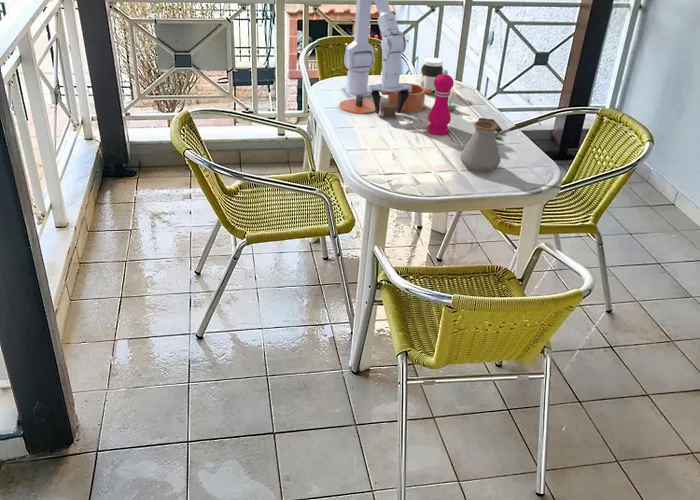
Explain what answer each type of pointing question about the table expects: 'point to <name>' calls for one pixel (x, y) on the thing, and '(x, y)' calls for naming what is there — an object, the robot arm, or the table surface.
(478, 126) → the coffee pot
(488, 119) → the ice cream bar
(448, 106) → the pacifier
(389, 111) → the block
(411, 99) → the pot
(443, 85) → the pepper mill
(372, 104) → the lid
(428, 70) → the spread jar
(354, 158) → the table surface
